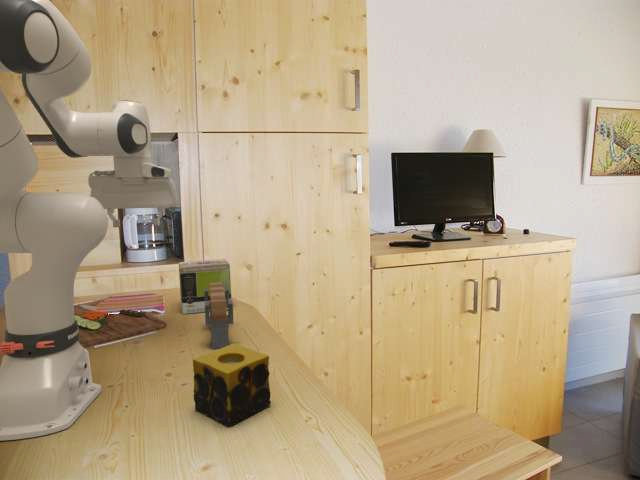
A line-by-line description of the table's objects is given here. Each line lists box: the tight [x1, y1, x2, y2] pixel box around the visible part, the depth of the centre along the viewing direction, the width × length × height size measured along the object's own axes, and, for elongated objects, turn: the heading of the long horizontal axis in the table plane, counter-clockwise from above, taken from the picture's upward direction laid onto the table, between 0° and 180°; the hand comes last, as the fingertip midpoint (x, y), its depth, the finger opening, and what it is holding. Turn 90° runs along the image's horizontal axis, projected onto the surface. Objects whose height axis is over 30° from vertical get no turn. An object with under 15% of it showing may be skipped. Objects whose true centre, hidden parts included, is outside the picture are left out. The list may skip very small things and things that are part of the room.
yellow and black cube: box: [192, 342, 272, 428], centre depth 88 cm, size 10×10×10 cm
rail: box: [209, 282, 228, 322], centre depth 126 cm, size 20×4×5 cm, turn 14°
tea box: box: [178, 258, 232, 315], centre depth 152 cm, size 15×10×15 cm, turn 108°
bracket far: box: [204, 287, 230, 328], centre depth 133 cm, size 4×7×11 cm, turn 104°
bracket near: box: [204, 298, 234, 350], centre depth 119 cm, size 4×7×11 cm, turn 104°
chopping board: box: [74, 298, 168, 350], centre depth 140 cm, size 45×27×3 cm, turn 44°
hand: (136, 226), depth 121 cm, fingers open, 8 cm apart
